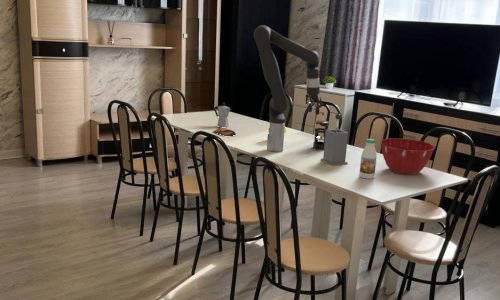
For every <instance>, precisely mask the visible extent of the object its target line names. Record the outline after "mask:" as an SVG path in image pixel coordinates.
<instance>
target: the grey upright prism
mask: <svg viewBox="0 0 500 300" xmlns="http://www.w3.org/2000/svg"><path fill="white" fill-rule="evenodd" d="M324 134H325V144H324V150H323V156H322V157H323V158H320V161H321V162H324V163H325V164H327V165H329V166H340V165H341V164H343V165H349V164H348V161H346V157H347V150H348V149H347V146H348V138H349V132H348V131H345V130H342V129H340V128H338V133H336V129H330V130H326V133H324ZM341 166H342V165H341Z"/></svg>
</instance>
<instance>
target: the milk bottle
mask: <svg viewBox="0 0 500 300" xmlns="http://www.w3.org/2000/svg"><path fill="white" fill-rule="evenodd" d="M375 146H376V139H374V138H366V139H365V146H364V148H363V150H362V153H361V155H360V156H361V157H360V165H359V174H358V175H359V178H363V179H368V180H371V179H374V178H375V175H376V166H377V157H378V156H377V151H376V148H375Z"/></svg>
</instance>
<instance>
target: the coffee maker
mask: <svg viewBox="0 0 500 300" xmlns="http://www.w3.org/2000/svg"><path fill="white" fill-rule="evenodd" d="M231 110H232V109H231V107H229V106H227V105H226V102H222V104H221V105H218V106H217V105H216V106H214V107H213V111H214V113H215V116H216V117H218V120H217V125H216V127H217V126H219V127H229V118H228V117H229V114H230V111H231ZM229 128H230V127H229Z"/></svg>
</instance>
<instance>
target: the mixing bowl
mask: <svg viewBox="0 0 500 300" xmlns="http://www.w3.org/2000/svg"><path fill="white" fill-rule="evenodd" d="M380 147H381V152H382V156H383V160H384V162H385V165H386V166H387V168H388V169H390V170H391V171H392V172H393V173H396V174H399V175H416V174H419V173H420V172H421V171H422V170H423V169H424V168H425V167H426V165H427V164H428V162H429V161H430V159H431V158H432V155H433V152H434V150H435V149H436V146H435V145H433V144H432V143H430V142H426V141H422V140H417V139H411V138H385V139H381V140H380Z"/></svg>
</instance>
